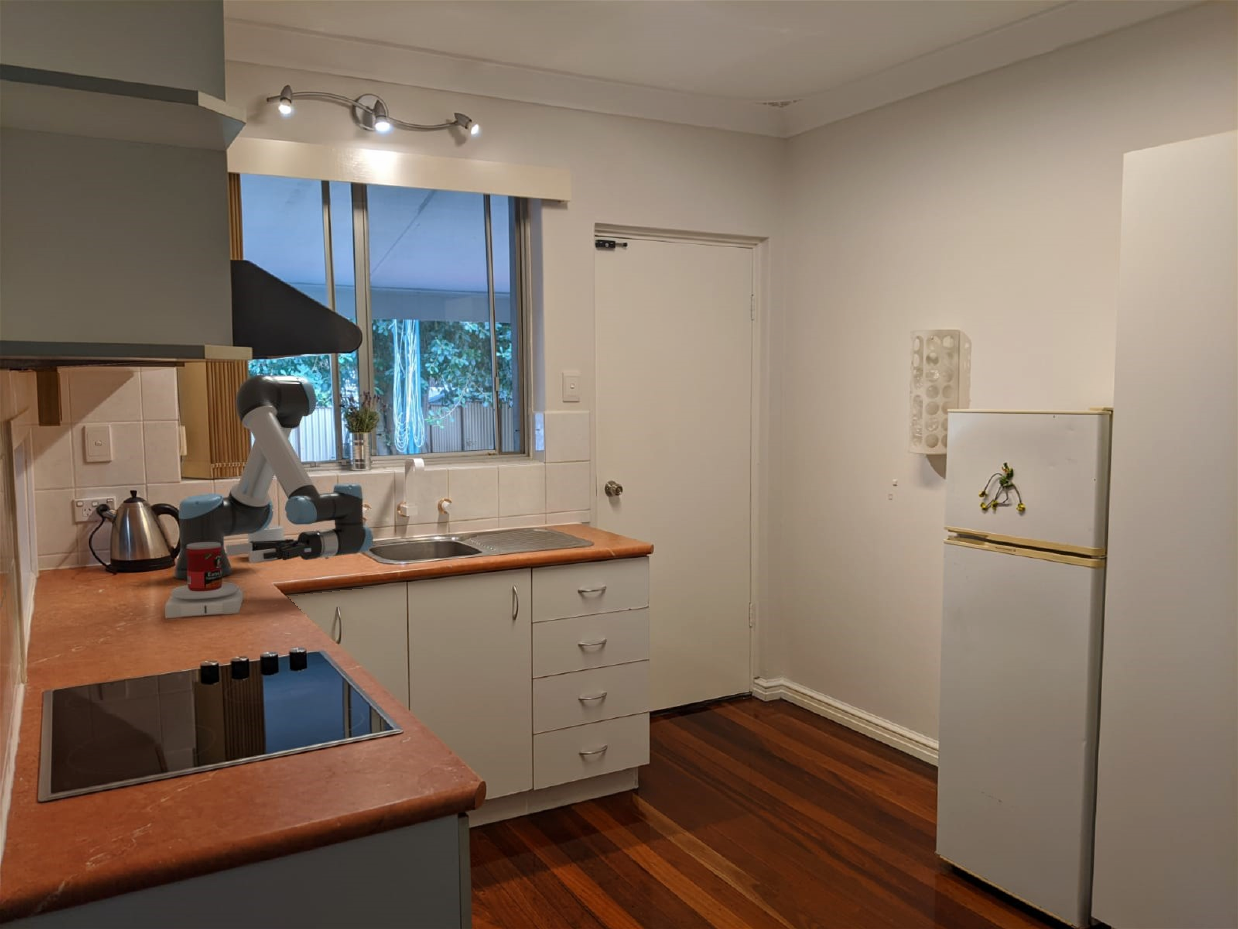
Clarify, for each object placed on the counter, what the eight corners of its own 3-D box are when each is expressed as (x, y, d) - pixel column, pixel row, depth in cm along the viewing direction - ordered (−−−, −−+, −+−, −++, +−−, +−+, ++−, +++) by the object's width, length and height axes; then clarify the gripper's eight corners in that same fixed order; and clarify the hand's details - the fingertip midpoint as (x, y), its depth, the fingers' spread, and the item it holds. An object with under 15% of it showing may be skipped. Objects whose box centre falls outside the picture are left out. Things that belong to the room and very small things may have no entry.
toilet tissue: (280, 560, 296) (279, 529, 296) (241, 561, 295) (240, 530, 294) (287, 554, 307) (287, 525, 306) (250, 555, 305) (249, 525, 305)
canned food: (209, 592, 224) (208, 547, 223) (180, 590, 225) (178, 546, 224) (229, 586, 231) (227, 542, 230) (200, 584, 233) (199, 541, 232)
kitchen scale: (174, 604, 233) (173, 584, 233) (242, 599, 238) (242, 580, 238) (164, 619, 217) (163, 598, 217) (238, 614, 222) (237, 593, 222)
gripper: (340, 564, 240) (259, 575, 225) (295, 553, 258) (218, 562, 242) (339, 535, 239) (259, 544, 224) (294, 526, 257) (217, 534, 242)
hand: (237, 554), depth 233 cm, fingers open, 13 cm apart
